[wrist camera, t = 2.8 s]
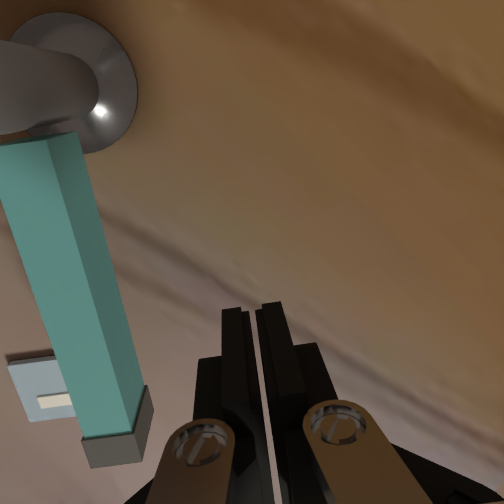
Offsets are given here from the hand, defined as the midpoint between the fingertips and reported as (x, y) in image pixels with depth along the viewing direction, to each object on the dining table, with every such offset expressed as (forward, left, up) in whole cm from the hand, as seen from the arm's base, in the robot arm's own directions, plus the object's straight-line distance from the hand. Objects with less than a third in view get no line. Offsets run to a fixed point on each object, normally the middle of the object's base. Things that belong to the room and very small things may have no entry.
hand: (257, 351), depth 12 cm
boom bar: (+6, -1, -8) cm, 10 cm away
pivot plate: (+6, -8, -8) cm, 13 cm away
